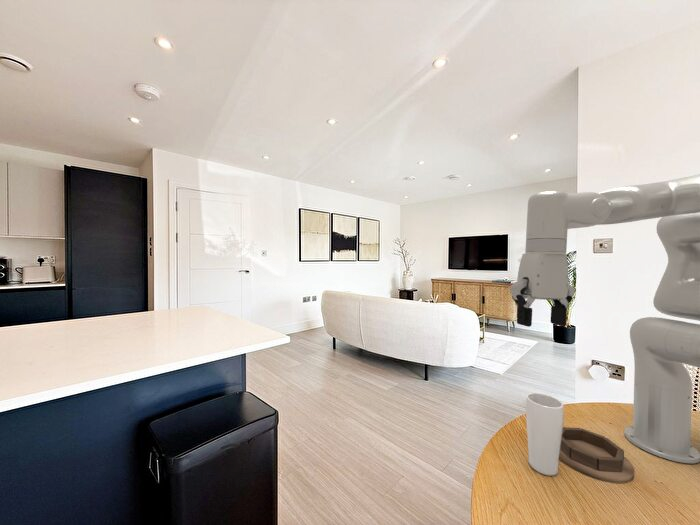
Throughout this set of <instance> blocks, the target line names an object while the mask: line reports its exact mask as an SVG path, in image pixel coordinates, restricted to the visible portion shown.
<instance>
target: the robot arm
mask: <svg viewBox="0 0 700 525" xmlns="http://www.w3.org/2000/svg"><path fill="white" fill-rule="evenodd" d="M657 218H658V219H659V218H660V219H659V220H658V221H657V223H656V233H657V236H658V238H659V240H660V242H661V243H662V246H663V248H664V250H665V252H666V255H667V265H666V268H665V271H664V273H663V275H662V277H661V279H660V282H659V284H658V287H657V289H656V291H655V293H654V297H653V301H652V302H653V307H654V308H655V310H657V311H658V312H660V313H661V314H664V315H667V316H671V317H674V318H675V317H676V318H681V319H686V320H692V321H697V322H698V321H699V322H700V173H699V174H695V175H689V176H684V177H680V178H675V179H670V180H665V181H659V182H650V183H644V184H634V185H625V186H620V187H617V188H612V189H611V188H610V189H608V190H603V191H600V192H592V191H588V192H587V191H585V192H584V191H583V192H565V191H561V190H545V191H539V192H536V193H534V194H532V195H531V196H529V198H528V200H527V216H526V231H525V232H526V234H525V252H524V253H522V256H521V257H520V261H519V262H520V263H519V266H518V272H517V277H516V278H517V279H516V282H515V283H514V284H512V285H510V286H509V291H510V293H511V295H512V296H511V299H512V300H513V302H514V305H515V306H516V307H517V311H516V312H517V313H516V323H517V324H518V325H521V326H525V327H528V328H529V327H532V324H533V323H532V322H533V308H532V307H531V306H532V305H533V303H534V301H535V300H545V301H547V300H550V301H551V302H552V305H551V307H550V323H551V324H553V325H558V326H561V327H565V326H567V314H568V309H569V307H570V303H571V301H572V300H573V296H574V293H575V291H576V288H574V287H573V286H572V285H570V284H569V264H568V258H567V248H568V247H567V245H568V241H567V240H568V230H571V229H581V228H589V227H594V226H601V225H602V226H603V225H604V226H606V225H617V224H625V223H626V224H627V223H632V222H638V221H644V220H652V219H657ZM629 339H630V343H631V348H632V352H633V353H632V354H633V360H634V361H633V362H634V373H633V374H634V375H633V376H634V377H633V407H632V408H633V409H632V410H633V412H632V414H633V415H632V426H627V427H625V428H624V432H623V433H624V436H625V438H626V439H627V440H629V442H630V443H632V444H633V445H634V446H635V447H638V448H639V449H642V450H643V451H645V452H647V453H649V454H652V455H655V456H657V457H660V458H663V459H666V460H668V461H673V462H677V463H682V464H696V463H697V464H698V463H699V462H700V451H699V450H698V449H697V448H695V446H693V445H692V444H691V442H692V441H691V439H692V438H691V435H692V434H691V433H692V430H691V429H692V405H693V404H692V400H693V383H692V382H693V381H692V377H691V375H690V373H689V371H688V370H687V369H686V368H687V367H686V366H685V365H688V366H691V367H695V368H699V369H700V323H694V322H687V321H683V320H676V319H670V318H665V317H656V316H655V317H653V316H648V317H641V318H638V319H637V320H635V321H634V322H633V323H632V324H631V326H630V329H629ZM684 364H685V365H684Z"/></svg>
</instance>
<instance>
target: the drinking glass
mask: <svg viewBox="0 0 700 525" xmlns="http://www.w3.org/2000/svg"><path fill="white" fill-rule="evenodd" d="M564 413H565V412H564V404H563V402H562V401H561V400H559V399H558V398H556V397H554V396H552V395H548V394H545V393H539V392H538V393H537V392H530V393H528V394H526V399H525V419H526V420H525V421H526V434H527V445H528V446H527V449H528V463H529V466H530V467H531V468H532V469H533V470H534V471H536V472H538V473H540V474H542V475H545V476H556V475H557V474H558V473H559V472H558V471H559V461H560V460H559V453H560V445H561V438H562V431H563V427H564V419H565V418H564V416H565V415H564Z"/></svg>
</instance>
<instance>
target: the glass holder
mask: <svg viewBox="0 0 700 525" xmlns="http://www.w3.org/2000/svg"><path fill="white" fill-rule="evenodd" d="M559 461H560V462H562V463H563V464H565V465H566V466H568V468H571V469H572V470H574V471H576V472H578V473H580V474H582V475H584V476H587V477H590V478H592V479H595V480H599V481H602V482H606V483H612V484H627V483H630V482H632V481H633V480H634V477H635V468H634V466H633V464H632V462H631V461H630V460H629V459H628V458H627V457H626V456H625V451H624V449H623V448H621V447H620V446H619V445H618V444H616V443H614V442H613V441H612V440H611V439H609V438H607V437H606V436H603V435H601V434H598V433H596V432H593V431H590V430H587V429H584V428H582V427H581V428H580V427H570V426H569V427H567V426H566V427H565V426H563V431H562V438H561V445H560V453H559Z"/></svg>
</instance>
